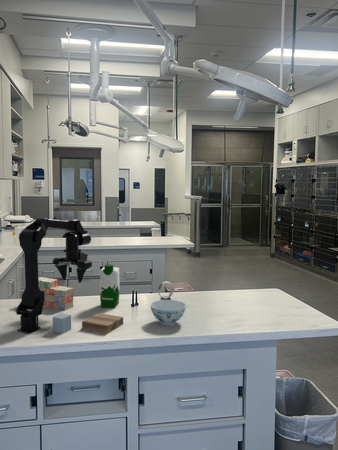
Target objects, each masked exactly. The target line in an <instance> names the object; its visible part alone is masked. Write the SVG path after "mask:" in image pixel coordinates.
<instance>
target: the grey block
mask: <svg viewBox="0 0 338 450" xmlns="http://www.w3.org/2000/svg"><path fill="white" fill-rule="evenodd" d="M69 331H72V315H71V314H67V313H59V314H56V315H54V316H53V317H52V332H53V333H58V334H63V335H64V334H65V333H67V332H69Z"/></svg>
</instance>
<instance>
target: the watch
mask: <svg viewBox="0 0 338 450" xmlns="http://www.w3.org/2000/svg"><path fill="white" fill-rule="evenodd" d="M166 284H168V285H169V284H170V286H172V287H171V290H170V293H169V294H168V295H165V296H164V295H163V296H162V295H161V292H162V291H163V290H164V287H165V285H166ZM156 291H157V293H158V296H159V297H160V300H172V298H171V297H172V296H173V294H174V291H175V286H174V285H173V284H172V283H171V282H170V281H163V282H160V284H159V285H158V288H157V290H156Z"/></svg>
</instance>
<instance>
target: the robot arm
mask: <svg viewBox="0 0 338 450" xmlns="http://www.w3.org/2000/svg"><path fill="white" fill-rule="evenodd" d="M48 229H59V230H61V231H63V232H64V234H63V235H62V238H64V239H65V249H63V252H64V253H65V256H59V257H53V259H52V265H54V267H55V268H56V269H57V271H58V272H59V274H60V276H61V278H62V280H63V281H66V280H67V267H68V266H69V265H73V266H76V267H77V268H75V269H76V270H75V271H76V275H77V276H76V277H77V281H78V283H79V284H80V283H82V280H83V278H84V276H85V273H86V271H87V270H88V269H89V270H90V268H92V267H93V262H92V261H91V260H88V257H89V254H86V252H82V250H81V248H80V247H81V246H86V245H87V246H88V245H89V244H91V241H92V237H91V235H90V234H89V233H88V230H85V229H84V227H83V225H82V223H81V220H80V219H74V218H73V219H72V218H71V219H70V218H69V219H68V218H66V219H62V220H60V219H53V218H52V219H51V218H47V217H38V218H36V219H35V220H34V221H33V222H32V223H31V224H28V225H27V226H26V227H25V228H23V229H22V230H21V231H20V233H18V241H19V246H20V248H21V249H22V251H23V254H24V256H23V257H24V279H25V287H24V288H25V289H24V290H23V292H22V294H21V300H20V303H18V304H19V305H17V307H16V309H15V313H16V315H18V316H19V315H20V317H19V318H20V328H18V329H17V331H18V332H20V333H21V332H22V333H27V334H32V333H34V332H36V331H39V330H40V329H41V328H42V327H41V326H39V316H40V315H42V313H43V310H44V309H43V308H44V306H43V305H44V301H45V298H44V294H45V293H44V291H41V290H40V289H39V280H38V277H39V258H38V253H39V250H40V248H41V247H42V242H43V239H44V238H45V236H46V235H47V231H48Z"/></svg>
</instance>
